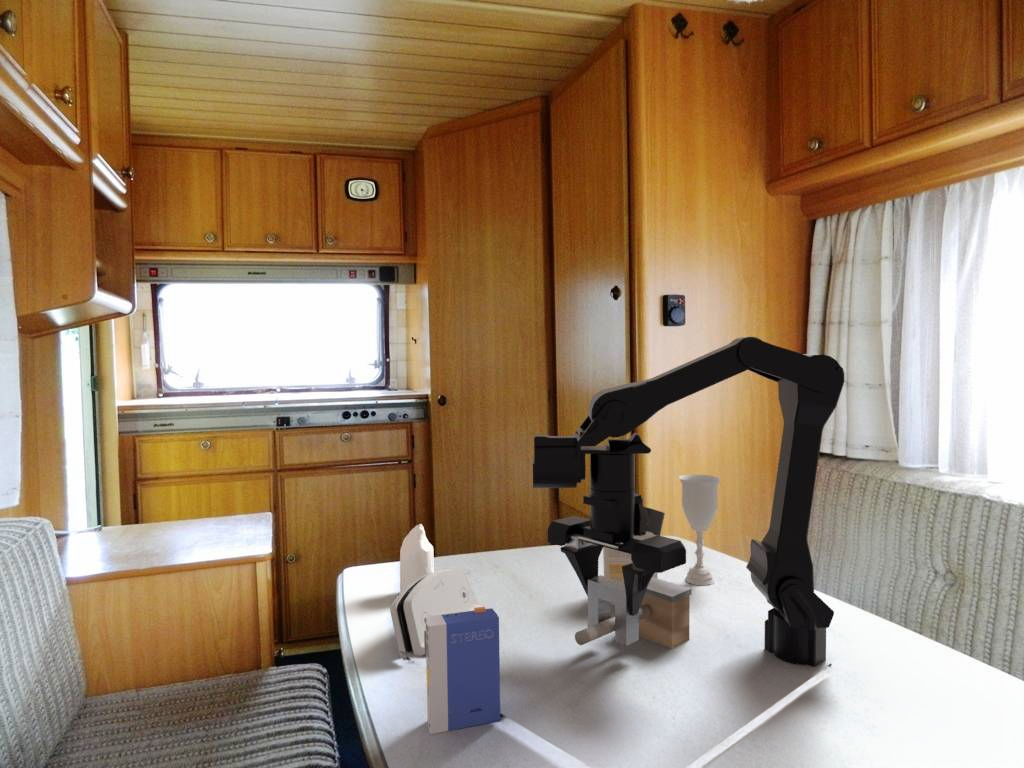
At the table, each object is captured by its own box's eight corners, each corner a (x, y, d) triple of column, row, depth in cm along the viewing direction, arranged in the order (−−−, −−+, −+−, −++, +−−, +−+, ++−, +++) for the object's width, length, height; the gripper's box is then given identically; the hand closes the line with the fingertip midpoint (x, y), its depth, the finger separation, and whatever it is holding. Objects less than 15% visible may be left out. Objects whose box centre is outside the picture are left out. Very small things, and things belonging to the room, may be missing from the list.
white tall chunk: (391, 524, 113) (418, 518, 117) (393, 595, 113) (419, 586, 117) (414, 530, 109) (441, 523, 113) (415, 604, 109) (442, 595, 113)
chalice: (670, 577, 121) (670, 476, 120) (700, 571, 124) (701, 473, 123) (698, 590, 114) (698, 483, 113) (729, 583, 117) (729, 480, 116)
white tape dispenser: (431, 666, 88) (408, 590, 89) (403, 671, 90) (380, 597, 91) (490, 619, 103) (469, 555, 104) (464, 624, 105) (444, 562, 106)
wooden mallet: (641, 628, 99) (641, 573, 98) (691, 646, 92) (691, 588, 92) (555, 666, 87) (555, 605, 87) (605, 690, 81) (605, 624, 80)
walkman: (493, 708, 77) (492, 604, 76) (500, 721, 74) (499, 613, 74) (424, 721, 75) (422, 613, 74) (429, 734, 72) (427, 623, 71)
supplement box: (654, 600, 110) (654, 520, 109) (658, 612, 105) (657, 528, 104) (603, 599, 110) (602, 519, 110) (604, 610, 106) (603, 527, 105)
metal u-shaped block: (638, 640, 86) (638, 587, 86) (626, 645, 85) (626, 592, 84) (600, 625, 91) (600, 575, 91) (587, 630, 90) (587, 579, 89)
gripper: (711, 489, 85) (711, 611, 86) (598, 470, 99) (599, 576, 100) (657, 503, 78) (658, 636, 79) (544, 481, 92) (545, 594, 93)
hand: (612, 607), depth 88 cm, fingers closed on metal u-shaped block, 6 cm apart
